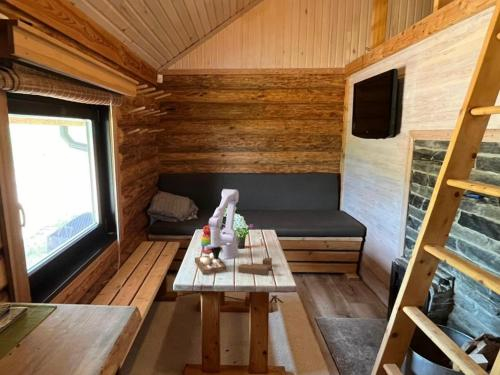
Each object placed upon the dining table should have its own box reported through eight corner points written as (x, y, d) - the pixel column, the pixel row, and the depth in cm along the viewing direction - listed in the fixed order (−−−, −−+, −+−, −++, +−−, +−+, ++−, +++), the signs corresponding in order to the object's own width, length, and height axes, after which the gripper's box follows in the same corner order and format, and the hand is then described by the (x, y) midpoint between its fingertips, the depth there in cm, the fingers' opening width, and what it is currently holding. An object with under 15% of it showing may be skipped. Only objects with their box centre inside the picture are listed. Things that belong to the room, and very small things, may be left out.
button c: (215, 257, 202) (215, 252, 201) (217, 259, 198) (217, 254, 198) (209, 258, 200) (208, 253, 200) (210, 260, 197) (210, 255, 196)
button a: (206, 262, 200) (205, 256, 199) (207, 264, 196) (207, 258, 196) (199, 263, 198) (199, 257, 198) (201, 265, 195) (201, 259, 194)
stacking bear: (209, 254, 214) (208, 228, 211) (197, 251, 219) (197, 226, 216) (219, 249, 223) (219, 224, 220) (207, 247, 228) (207, 222, 225)
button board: (216, 258, 207) (216, 253, 206) (226, 270, 189) (226, 265, 188) (194, 262, 201) (194, 256, 201) (203, 275, 183) (203, 269, 182)
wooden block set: (268, 267, 181) (237, 264, 185) (268, 276, 182) (237, 273, 186) (273, 256, 197) (245, 253, 202) (273, 265, 198) (245, 262, 203)
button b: (208, 262, 194) (208, 257, 193) (210, 265, 190) (210, 259, 190) (202, 263, 192) (202, 258, 192) (203, 266, 189) (203, 260, 188)
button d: (218, 264, 197) (218, 258, 196) (220, 266, 193) (220, 261, 192) (211, 265, 195) (211, 259, 195) (213, 267, 192) (213, 262, 191)
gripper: (221, 233, 199) (222, 254, 201) (201, 237, 190) (202, 259, 192) (228, 235, 193) (228, 257, 196) (207, 240, 184) (208, 263, 187)
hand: (216, 258), depth 193 cm, fingers closed
